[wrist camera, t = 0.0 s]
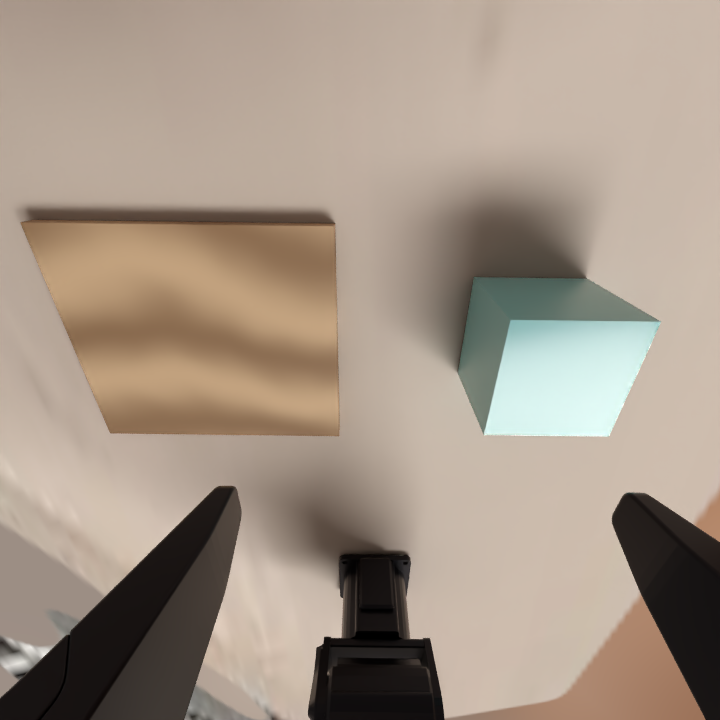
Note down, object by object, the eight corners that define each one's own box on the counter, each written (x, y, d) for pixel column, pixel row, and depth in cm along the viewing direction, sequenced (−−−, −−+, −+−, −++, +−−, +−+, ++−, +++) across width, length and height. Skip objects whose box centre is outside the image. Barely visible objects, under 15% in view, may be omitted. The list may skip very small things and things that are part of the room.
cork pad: (339, 428, 26) (338, 435, 26) (116, 425, 26) (110, 433, 26) (335, 223, 20) (333, 226, 19) (32, 219, 20) (20, 222, 19)
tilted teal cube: (555, 374, 24) (608, 436, 19) (457, 373, 24) (483, 434, 19) (586, 278, 21) (660, 321, 16) (473, 277, 21) (510, 319, 16)
